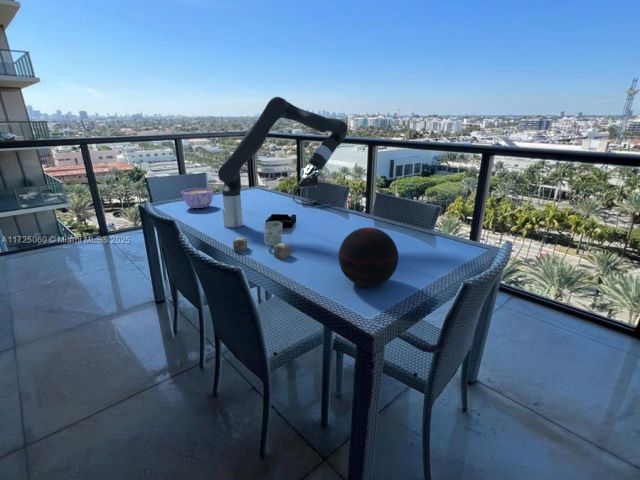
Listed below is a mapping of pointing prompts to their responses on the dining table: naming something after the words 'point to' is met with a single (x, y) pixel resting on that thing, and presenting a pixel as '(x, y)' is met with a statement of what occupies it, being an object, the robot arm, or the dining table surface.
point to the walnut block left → (240, 244)
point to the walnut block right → (282, 250)
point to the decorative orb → (368, 257)
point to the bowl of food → (198, 197)
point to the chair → (307, 185)
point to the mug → (273, 232)
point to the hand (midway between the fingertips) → (299, 186)
